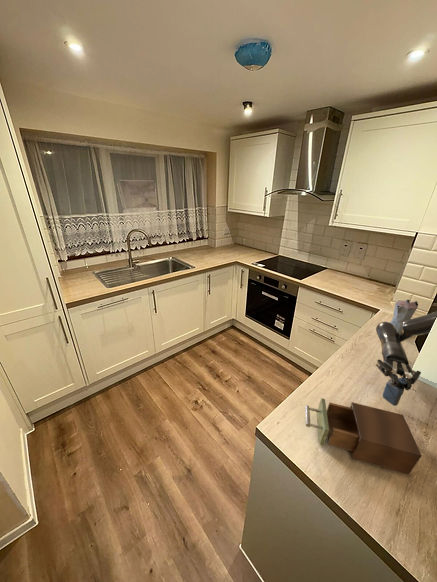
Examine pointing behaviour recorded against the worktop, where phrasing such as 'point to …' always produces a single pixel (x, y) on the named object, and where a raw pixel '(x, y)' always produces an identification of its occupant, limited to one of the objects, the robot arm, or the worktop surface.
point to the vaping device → (394, 391)
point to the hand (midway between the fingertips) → (402, 386)
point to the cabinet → (384, 439)
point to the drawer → (335, 425)
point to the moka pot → (403, 313)
